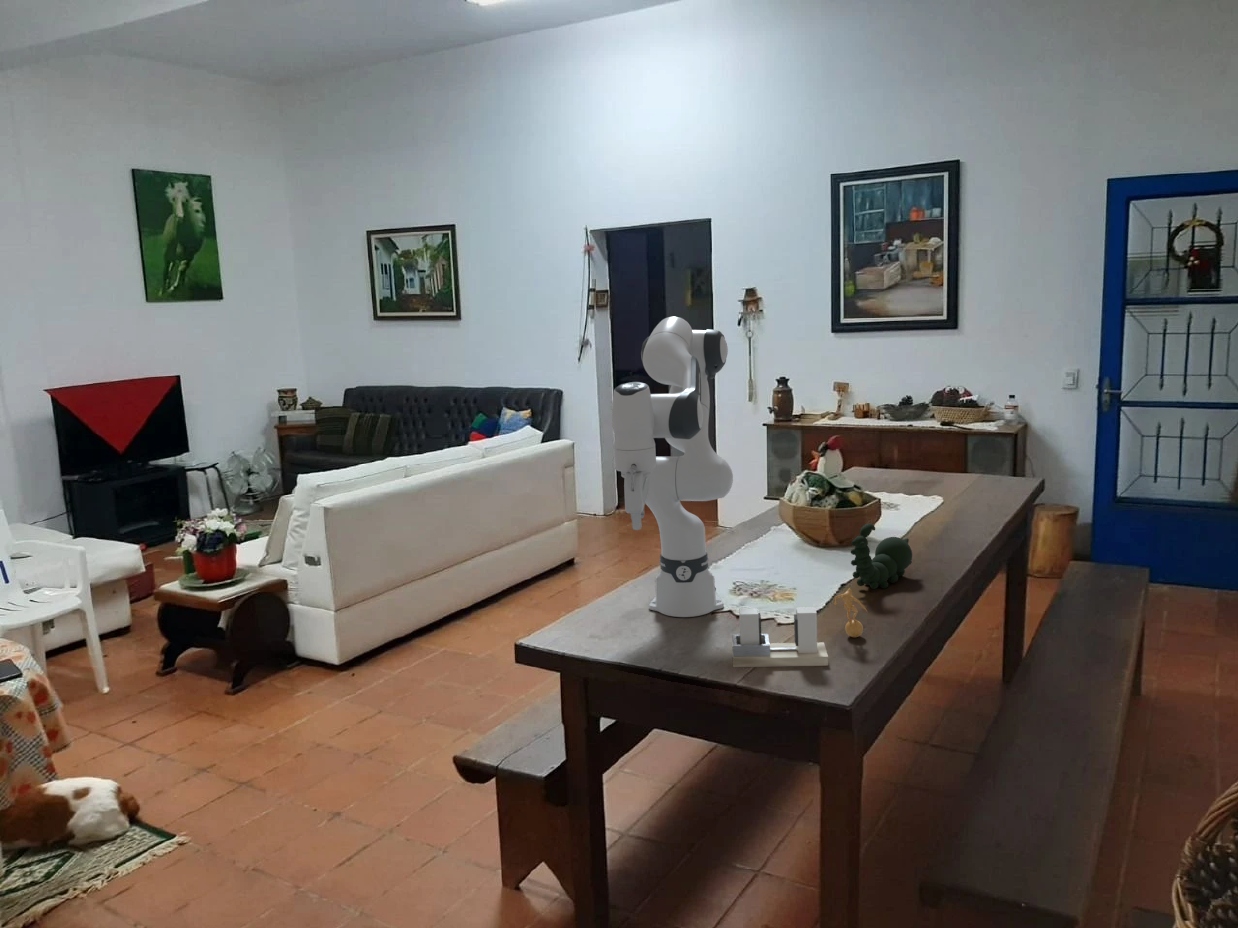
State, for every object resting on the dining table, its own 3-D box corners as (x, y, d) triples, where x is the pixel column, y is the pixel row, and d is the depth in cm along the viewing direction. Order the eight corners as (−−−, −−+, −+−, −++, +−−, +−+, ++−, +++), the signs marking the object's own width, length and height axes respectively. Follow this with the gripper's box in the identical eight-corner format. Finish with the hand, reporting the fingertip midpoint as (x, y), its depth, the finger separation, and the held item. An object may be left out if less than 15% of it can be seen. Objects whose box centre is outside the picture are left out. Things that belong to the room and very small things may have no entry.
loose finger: (740, 647, 211) (739, 608, 210) (761, 647, 211) (760, 608, 209) (740, 653, 208) (739, 614, 206) (762, 653, 207) (760, 613, 206)
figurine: (875, 638, 217) (874, 587, 215) (861, 646, 213) (860, 594, 211) (842, 630, 223) (842, 580, 221) (828, 638, 219) (827, 587, 216)
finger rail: (732, 652, 214) (730, 605, 212) (823, 650, 212) (823, 603, 210) (733, 666, 206) (731, 618, 204) (828, 665, 204) (827, 616, 202)
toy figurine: (876, 604, 243) (925, 570, 260) (872, 533, 238) (922, 504, 255) (844, 596, 250) (893, 564, 266) (839, 528, 245) (890, 499, 261)
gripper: (647, 469, 194) (650, 536, 196) (652, 450, 214) (656, 511, 216) (615, 470, 194) (619, 537, 197) (624, 451, 214) (628, 512, 217)
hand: (638, 523), depth 207 cm, fingers open, 8 cm apart
